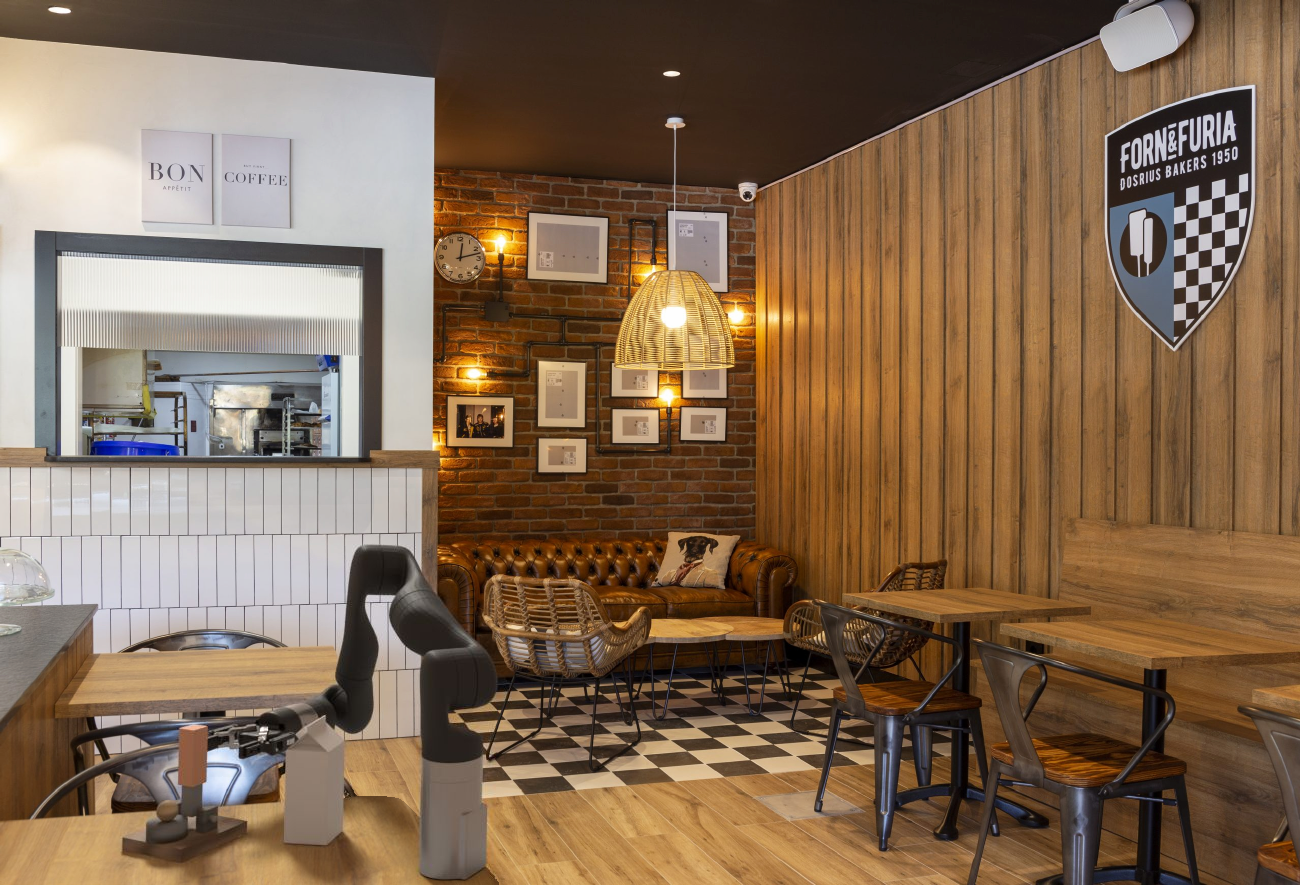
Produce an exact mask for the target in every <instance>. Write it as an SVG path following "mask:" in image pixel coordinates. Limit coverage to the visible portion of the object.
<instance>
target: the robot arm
mask: <svg viewBox="0 0 1300 885" xmlns="http://www.w3.org/2000/svg"><path fill="white" fill-rule="evenodd" d="M349 568H350V569H349V575H348V583H347V584H348V586H347V593H346V594H347V595H346V605H345V617H344V629H343V638H342V643H341V648H340V650H339V651H340V652H339V656H338V659H337V663H336V667H335V668H336V669H335V672H334V678H335V681H336V683H337V684H336V683H335V684H331V685H329V686H328V687H326V688H325V689H324V690H322V692H320V693H319V694H317V695H316V696H314V698H312V699H310V700H307V701H303V702H300V703H293V704H288V705H286V706H283V707H278V708H276V709H272V710H269V711H266V712H262V713H261V714H260V715H259V716H258V717H257V718H256V720H255V722H254V723H252V724H246V725H245V726H239V724H236V723H233V724H229V725H227V726H226V725H225V726H223V727H218V728H215V729H211V730H209V731H208V740H207V753H208V752H210V751H214V750H216V749H217V750H218V749H223V748H229V749H230V750H237V749H238V757H237V758H239V759H241V760H245V759H249V758H252V757H254V756H257V755H258V756H263V755H266V754H267V755H269V756H276V755H279V754H281V753H284V752H286V750H287V749H288V748H289V747H290V746H291V745H293V744H294V743H295V742H296V741H297V740H299V739H298V737H297V736H296V733H297V732H299V731H300V730H301V729H303V728H304V727H306V726H308V725H309V724H311V723H313V722H314V721H316V720H318V719H319V718H321V717H323V716H324V715H326V723H327V724H328V725H329V726H330V727H331V728H332V729H333V730H334V728H335V726H336V727H337V728H339V729H340V730H341V731H343V732H345V733H346V734H350V735H356V734H359V733H361V732H362V731H363V730H365V729H366V727H368V725H369V724H370V722H371V720H372V717H373V713H374V707H375V706H374V705H375V702H374V700H375V698H374V683H373V677H374V673H375V669H376V664H377V661H378V659H379V658H378V657H379V650H380V648H379V647H380V645H379V640H378V636H377V633H376V632H375V630H374V627H373V625H372V623H371V621H370V619H369V617H368V613H367V609H366V601H367V600H366V599H367V597H368V596H392V597H393V596H394V597H393V599H392V601H391V603H390V607H389V610H388V618H389V619H388V620H389V623H390V626H391V628H392V630H393V631H394V632H395V635H396V636H397V638H398V639H399V640H400V642H401V643H402V644H403V646H404V647H406V648H407V649H408V650H409V651H411V652H413V653H415V654H417V655H419V656H421V657H422V660H421V663H420V668H419V701H420V742H421V756H420V757H421V759H420V760H421V761H420V763H421V765H420V797H419V798H420V803H419V804H420V806H419V843H418V844H419V847H418V848H419V850H418V851H419V853H418V871H419V873H420V874H421V875H422V876H425V877H428V878H430V879H436V880H459V879H460V880H467V879H469V878H470V877H472V876H473V875H475V874H476V873H477V872H479V871H481V870H482V869H484V868H485V867H486V866H487V847H488V846H487V844H488V843H487V842H488V841H487V840H488V833H487V832H488V804H487V803H485V802H483V776H484V775H483V772H484V769H483V768H484V766H483V765H484V740H483V739H484V738H483V736H482V735H481V734H480V733H479V732H478V731H475V730H473V729H469V728H465V727H461V726H457V725H455V724H453V723H451V722H450V717H449V712H452V711H463V710H470V709H477V708H481V707H483V706H486V705H488V704H490V703H491V702H492V700H494V697H496V694H497V690H498V683H499V682H498V674H497V670H496V667H495V664H494V662H493V659H492V658H491V656H490V654H489V653H488V651H487V650H486V649H485V648H484V646H483V645H481V644H480V643H479V641H477V640H476V639H474V638H473V637H472V636H471V635H470V634H469V633H468V632H467V631H466V630H465V629H464V628H463V627H462V625H461V624H460V623H459V621H457V620H456V618H454V616H453V614H451V611H450V610H449V609H448V607H447V606H446V605H445V603H444V602H443V601H442V599H441V598H440V596H439V595H438V594H437V593H436V592H435V590H434V589H433V587H432V586H431V584H430V583H429V582H428V580H427V579H426V577H425V576H424V574H423V572H422V570H421V567H420V565H419V564H418V562H417V559H416V557H415V556H414V554H413V552H412V551H411V550H410V549H409V548H407V547H404V546H401V545H394V544H362V545H360V546H359V547H357V548H356V550H355V551H354V554H353V556H352V560H351V563H350V567H349ZM235 740H237V743H235Z"/></svg>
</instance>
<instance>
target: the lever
mask: <svg viewBox="0 0 1300 885" xmlns="http://www.w3.org/2000/svg"><path fill="white" fill-rule="evenodd" d="M208 730H209V728H208V726H207V725H203V724H196V723H192V724H189V725H186V726H182V727H179V728H178V760H177V761H178V765H177V766H178V769H177V785H178V786H181V794H180V795H181V796H180V799H181V815H183V816H187V817H195V816H196V810H198V809H200V808H203V791H204V790H203V788H204V786H203V784H204V783H207V778H208V777H207V775H208V774H207V773H208V772H207V771H208V769H207V768H208V752H207V740H208V737H209V731H208Z"/></svg>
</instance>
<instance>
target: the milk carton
mask: <svg viewBox="0 0 1300 885" xmlns="http://www.w3.org/2000/svg"><path fill="white" fill-rule="evenodd" d="M296 736H297V737H298V739H299V740H297V741H296V742H295V743H294V744H293V745H291V746H290V747H289V748H288V749H287V750H286V751H285V770H284V771H285V775H284V776H285V777H284V778H285V779H284V781H285V782H284V814H283V815H284V816H283V817H284V818H283V819H284V820H283V822H284V823H283V824H284V825H283V844H297V845H310V846H311V845H312V846H314V845H315V846H328V845H329V844H330V843H331V842H332V841H333V840H334V839H335V838H337V837H338V836H339V835H340V834H341V833H342V832H343V831H344V796H345V795H344V793H345V788H344V787H345V757H346V755H345V752H346V751H345V749H346V740H345V738H343V737H342V736H341V735H340V734H339V733H338V732H336V730H335V729H334V728H333V729H332V728H331V727H330V726H329V725H328V724H327V723H326V715H324V716H323V717H321V718H319V719H318V720H316V721H314V722H313V723H311V724H309V725H308V726H306V727H304V728H303V729H301V730H300V731H299V732H297V733H296Z"/></svg>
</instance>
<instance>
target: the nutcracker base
mask: <svg viewBox="0 0 1300 885" xmlns="http://www.w3.org/2000/svg"><path fill="white" fill-rule="evenodd" d="M155 812H156V813H155V814H156V816H155V817H152V818H150V819H148V820H147V821H145V822H146V823H145V828H143V829H140V830H137V831H135V832H132V833H130V834H128V835H125V836H122V840H121V841H122V843H121V851H123V852H124V851H125V852H128V853H129V852H130V853H133V854H138V855H143V856H148V857H153V858H157V859H162V860H167V861H170V862H171V861H172V862H177V863H183V862H185V861H189V860H190V859H193V858H194V857H197V856H199V855H202V854H204V853H206V852H208V851H210V850H212V849H215V848H217V847H219V846H221V844H222V845H223V843H224V844H226V843H228V842H231V841H233V840H235V839H237V838H240V837H241V835H242V836H244V835H246V834H248V820H245V819H244V820H243V819H239V818H238V819H237V818H233V817H229V816H228V817H227V816H222V815H219V806H218V805H215V804H208V805H206V806H202V808H200V809H198V810H196V816H195V817H187V816H183V815H181V798H179V799H175V800H172V799H166V800H164V801H162V802H160V803H159V804H158V805H157V807H156V810H155ZM239 836H240V837H239ZM230 840H231V841H230ZM225 842H226V843H225ZM218 845H219V846H218Z"/></svg>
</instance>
